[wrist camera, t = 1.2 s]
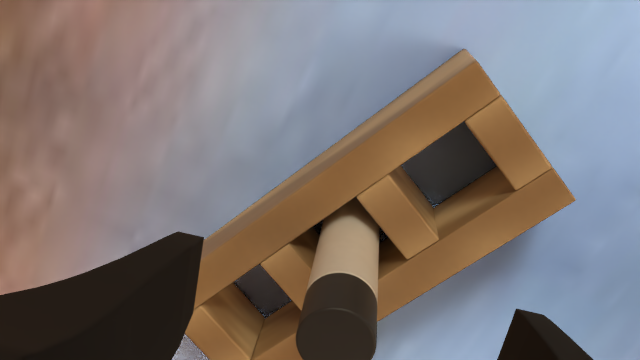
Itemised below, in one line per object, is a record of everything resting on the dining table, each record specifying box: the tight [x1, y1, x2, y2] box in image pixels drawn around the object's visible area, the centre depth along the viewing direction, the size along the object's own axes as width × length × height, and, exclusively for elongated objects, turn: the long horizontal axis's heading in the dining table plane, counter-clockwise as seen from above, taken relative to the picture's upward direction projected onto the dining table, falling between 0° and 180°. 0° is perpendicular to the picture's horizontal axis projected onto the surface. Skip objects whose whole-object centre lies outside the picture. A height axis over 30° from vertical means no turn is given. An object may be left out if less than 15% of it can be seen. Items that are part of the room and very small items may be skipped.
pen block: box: [185, 49, 575, 360], centre depth 22 cm, size 6×15×3 cm, turn 129°
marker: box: [296, 196, 379, 360], centre depth 20 cm, size 2×2×8 cm
